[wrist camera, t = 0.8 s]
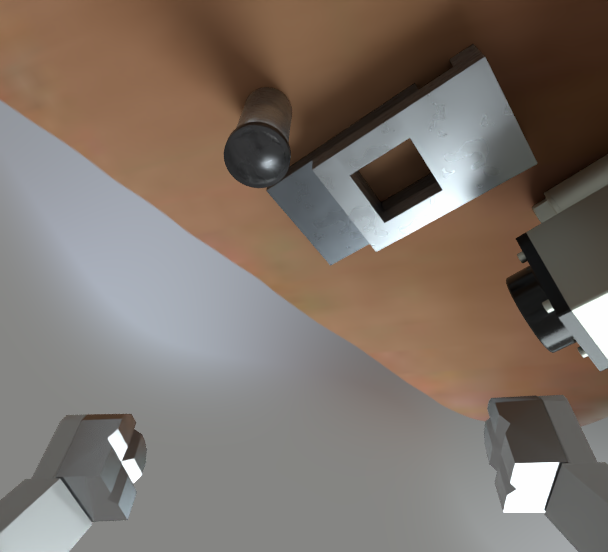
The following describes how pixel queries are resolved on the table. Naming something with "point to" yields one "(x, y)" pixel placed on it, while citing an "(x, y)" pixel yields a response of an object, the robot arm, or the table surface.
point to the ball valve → (568, 266)
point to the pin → (261, 140)
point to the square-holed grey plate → (431, 145)
